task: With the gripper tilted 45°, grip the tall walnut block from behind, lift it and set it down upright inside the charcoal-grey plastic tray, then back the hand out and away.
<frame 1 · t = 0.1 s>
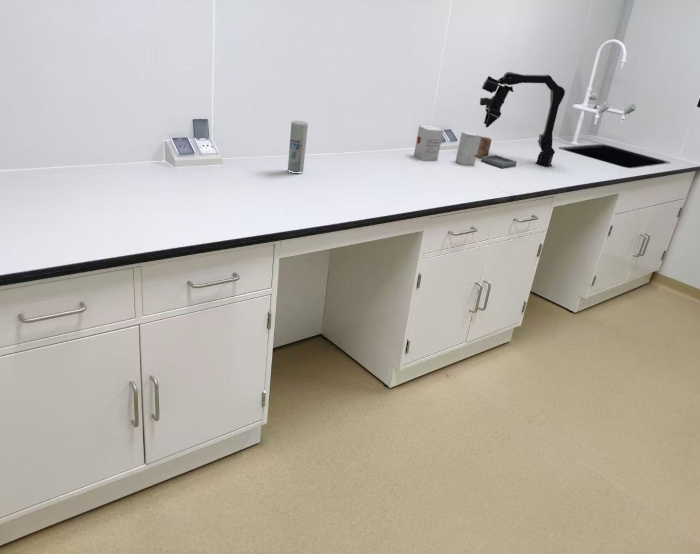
hand: (485, 125, 303), 15 cm above the countertop, fingers open, 9 cm apart
walnut block: (481, 157, 305), on the countertop
skincare box: (464, 163, 288), on the countertop
supplement box: (425, 158, 288), on the countertop
grey tray: (498, 163, 296), on the countertop
spray can: (295, 172, 237), on the countertop
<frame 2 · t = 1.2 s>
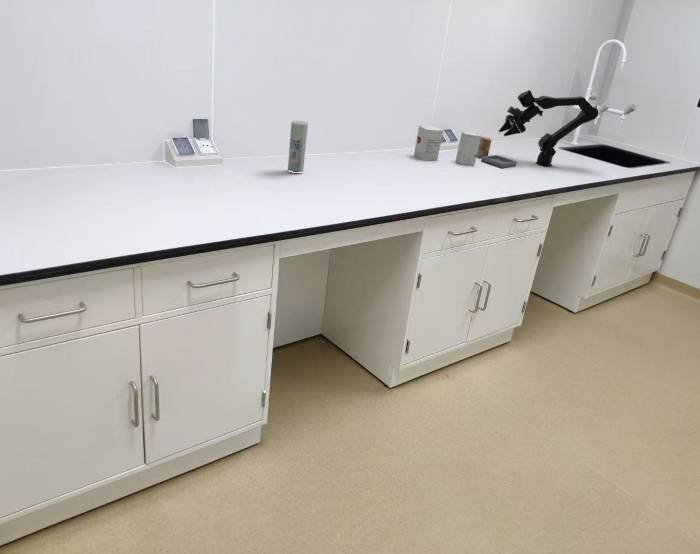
hand: (501, 133, 300), 13 cm above the countertop, fingers open, 9 cm apart
nothing on the countertop moved.
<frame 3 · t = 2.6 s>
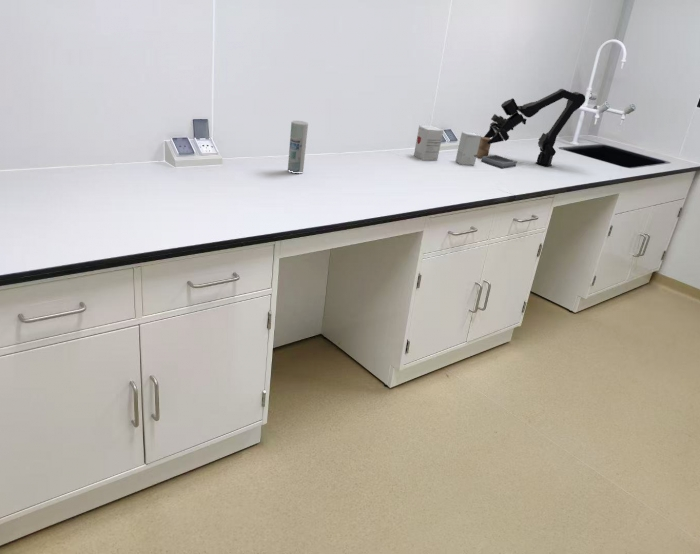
hand: (485, 141, 301), 8 cm above the countertop, fingers open, 9 cm apart
nothing on the countertop moved.
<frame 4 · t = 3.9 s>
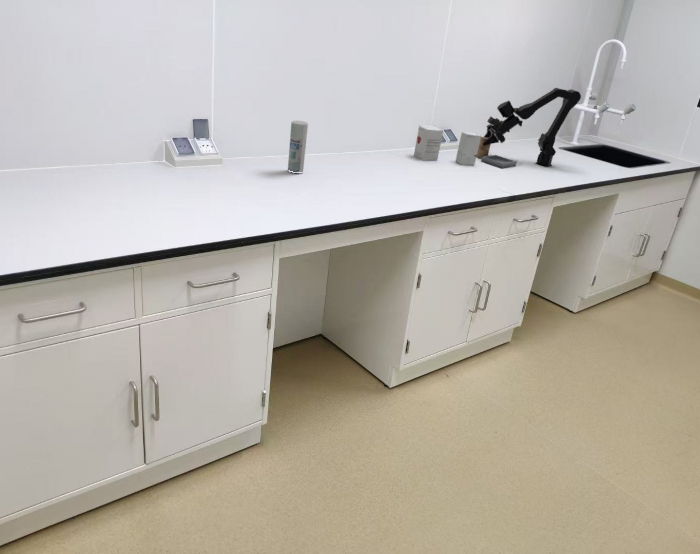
hand: (481, 143, 302), 7 cm above the countertop, fingers closed on walnut block, 5 cm apart
walnut block: (481, 157, 305), on the countertop, touching gripper
everything else where it was.
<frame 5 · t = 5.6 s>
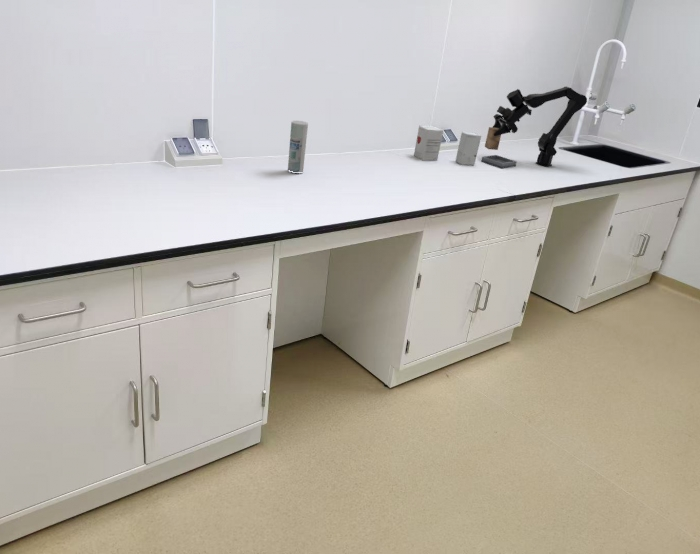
hand: (491, 134, 295), 13 cm above the countertop, fingers closed on walnut block, 5 cm apart
walnut block: (491, 148, 298), point 6 cm above the countertop, touching gripper
everything else where it was.
when the fingers open (9 cm above the countertop, at t = 7.5 s): walnut block drops 1 cm, resting on grey tray.
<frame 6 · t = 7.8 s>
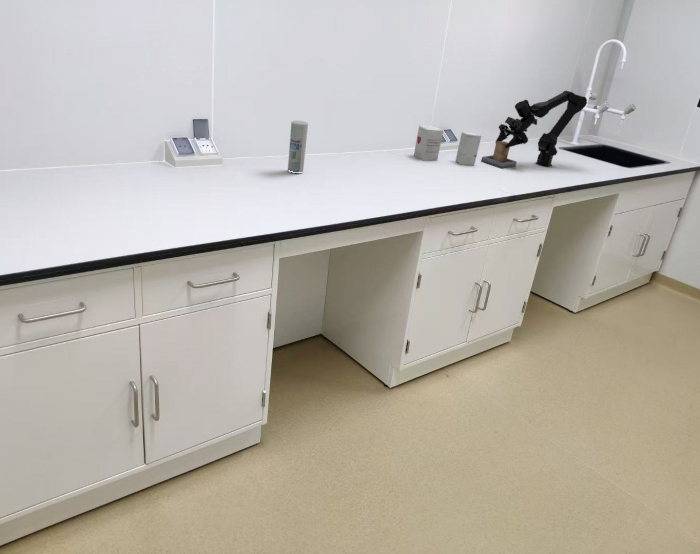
hand: (500, 145, 292), 10 cm above the countertop, fingers open, 8 cm apart
walnut block: (498, 162, 296), point 1 cm above the countertop, touching grey tray
everything else where it was.
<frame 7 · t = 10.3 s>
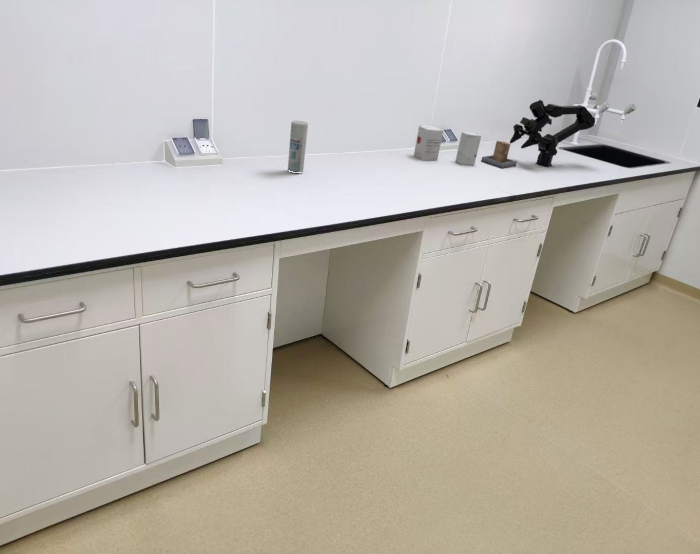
hand: (515, 145, 295), 10 cm above the countertop, fingers open, 9 cm apart
nothing on the countertop moved.
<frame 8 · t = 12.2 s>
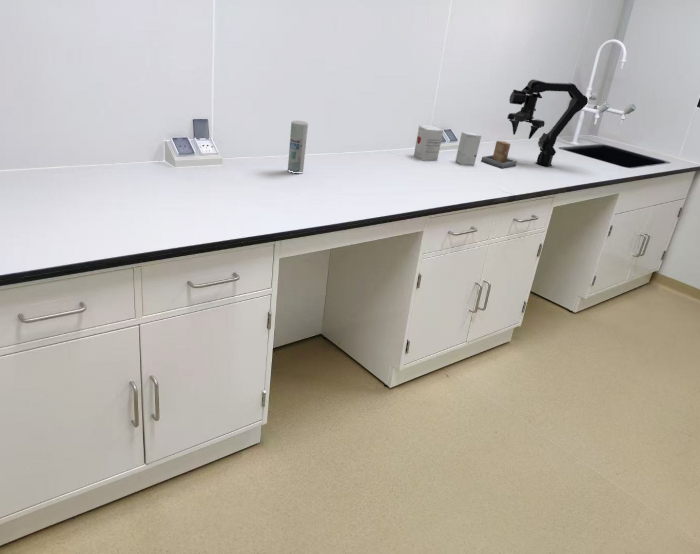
hand: (521, 136, 301), 13 cm above the countertop, fingers open, 9 cm apart
nothing on the countertop moved.
at the end: walnut block inside the target area on the grey tray (0.0 cm from its centre), point 1.0 cm above the grey tray's base; walnut block tilted 0°; the gripper is holding nothing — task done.
